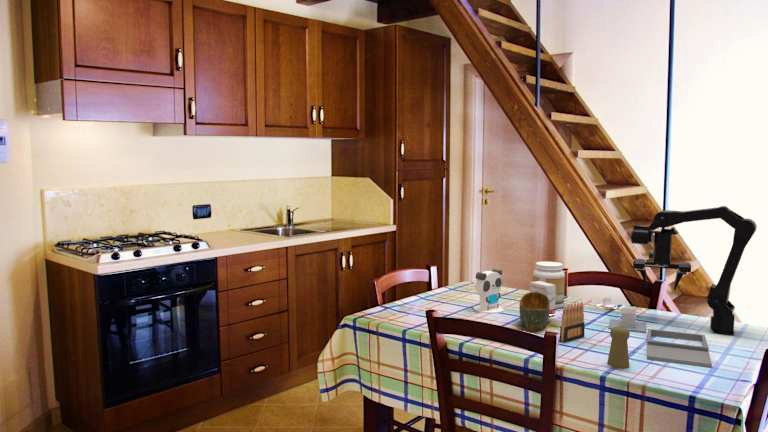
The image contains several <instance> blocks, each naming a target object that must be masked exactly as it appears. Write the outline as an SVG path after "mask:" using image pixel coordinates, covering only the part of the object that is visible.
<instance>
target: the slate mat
mask: <svg viewBox="0 0 768 432" xmlns="http://www.w3.org/2000/svg"><path fill="white" fill-rule="evenodd" d="M613 327H621V319H616V318H615V319H614V318H610V320H609V324H608V330H611V329H612V328H613ZM624 328H626V327H624ZM627 329H628V330H629V332H631V333H632V332H633V333H634V332H635V333H643V334H647V322H641V321H635V328H627Z"/></svg>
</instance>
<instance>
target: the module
mask: <svg viewBox="0 0 768 432" xmlns="http://www.w3.org/2000/svg"><path fill="white" fill-rule="evenodd" d="M636 313H637V309H635V308H627V307H626V308H624V307H623V308H621V314H620V315H621V316H620V317H621V318H620V320H621V327H626V328H635V322H636Z"/></svg>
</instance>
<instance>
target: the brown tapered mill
mask: <svg viewBox="0 0 768 432" xmlns="http://www.w3.org/2000/svg"><path fill="white" fill-rule="evenodd" d="M609 335H610V337H611V341H610V346H609V353H608V358H607V361H606V362H607V363H606V365H607V364H608V365H610V366H612V367H611V368H613V367H615V368H614V369H618V368H622V369H623V370H625V368H626V369H629V368H630V357H629V346H628V345H629V344H628V340H629V338H630V331H629V330H628V329H627V328H624V327H613V328H612V329H610V331H609ZM608 365H607V366H608ZM610 366H609V367H610ZM622 369H621V370H622Z"/></svg>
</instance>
